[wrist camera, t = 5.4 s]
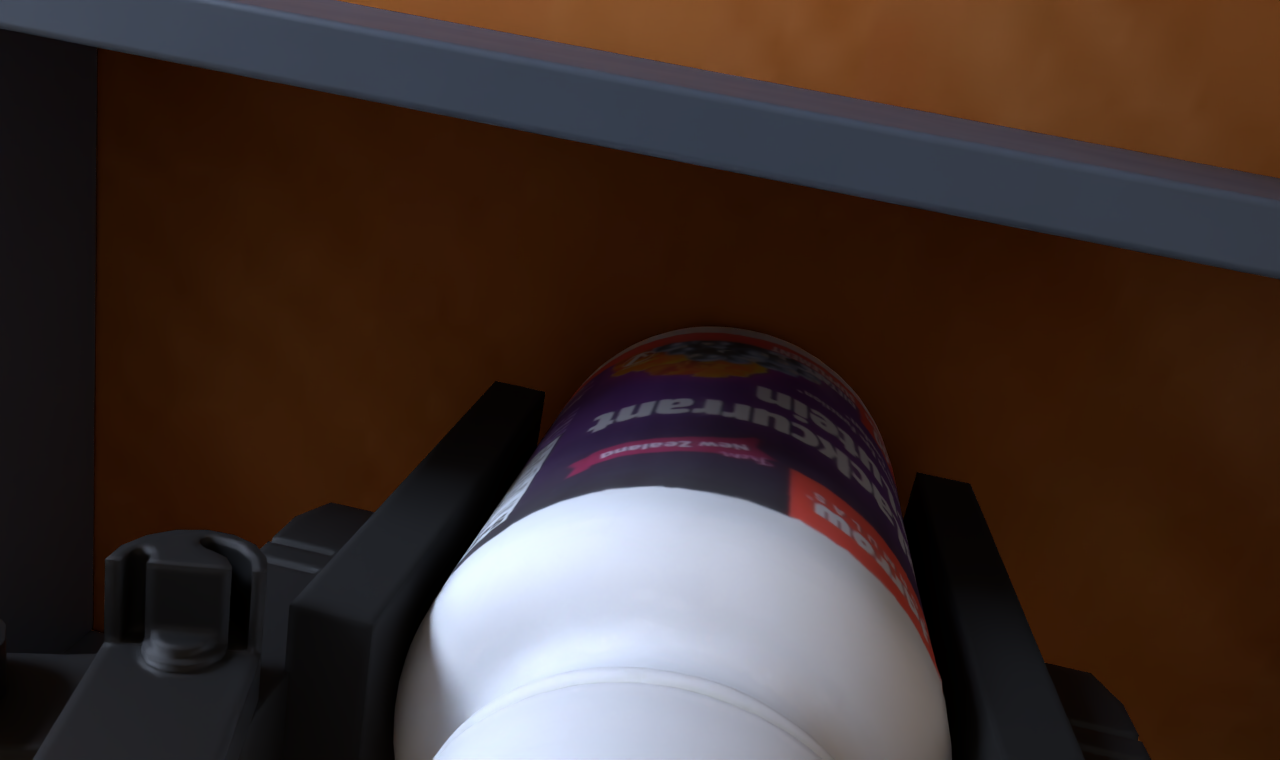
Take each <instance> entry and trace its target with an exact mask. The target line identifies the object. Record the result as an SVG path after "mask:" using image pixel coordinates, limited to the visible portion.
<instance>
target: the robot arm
mask: <svg viewBox="0 0 1280 760" xmlns="http://www.w3.org/2000/svg"><path fill="white" fill-rule="evenodd" d="M544 399H545V392H544V391H540V390H535V389H531V388H526V387H521V386H517V385H512V384H507V383H503V382H498V381H495V382H494V383H493V384H492V385H491V386H490V388H489V389H488V390H487V391H486V392H485V393H484V394H483V395H482V396H481V397H480V398H479V399H478V401H477V402H476V403H475V404H474V405H473V406H472V407H471V408H470V409H469V410H468V411H467V413H466V414H465V415H464V416H463V417H462V418H461V419H460V420H459V421H458V422H457V423H456V424H455V426H454V427H453V428H452V429H451V430H450V431H449V432H448V433H447V434H446V435H445V436H444V437H443V439H442V440H441V441H440V442H439V443H438V444H437V445H436V446H435V447H434V448H433V449H432V451H431V452H430V453H429V454H428V455H427V456H426V457H425V458H424V459H423V460H422V461H421V462H420V464H419V465H418V466H417V467H416V468H415V469H414V470H413V471H412V472H411V473H410V474H409V476H408V477H407V478H406V479H405V480H404V481H403V482H402V483H401V484H400V485H399V486H398V487H397V489H396V490H395V491H394V492H393V493H392V494H391V495H390V496H389V497H388V498H387V499H386V501H385V502H384V503H383V504H382V505H381V506H380V507H379V508H378V509H377V510H376V511H375V512H371V511H366V510H362V509H358V508H353V507H349V506H345V505H340V504H336V503H332V502H331V503H328V504H326V505H323V506H321V507H318V508H316V509H313V510H311V511H308V512H306V513H303V514H300V515H298V516H295V517H294V518H293V519H292V520H291V521H290V522H289V523H288V524H287V525H286V526H285V527H283V528H282V529H281V530H280V531H279V532H278V533H277V534H276V535H275V536H274V537H273V539H272V542H269V541H268V542H267V543H266V544H265V545H264V546H263V547H262V548H261V549H259V548H258V547H257V546H256V545H255V544H253V543H251V542H249V541H247V540H244V539H242V538H240V537H238V536H236V535H232V534H227V533H222V532H216V531H211V530H172V531H167V532H161V533H155V534H150V535H145V536H143V537H141V538H138V539H136V540H133V541H131V542H128V543H126V544H123V545H121V546H120V547H119V548H118V549H116V550H115V551H114V552H113V553H112V554H111V555H110V556H108V557H107V558H106V559H105V601H104V643H103V645H102V646H101V648H100V650H99V651H98V653H97V654H74V655H69V654H31V653H6V624H5V623H4V622H3V620H2V619H1V618H0V760H395V756H394V745H393V736H394V712H395V703H396V697H397V691H398V685H399V680H400V676H401V673H402V669H403V666H404V662H405V659H406V656H407V653H408V650H409V647H410V644H411V642H412V640H413V638H414V636H415V634H416V632H417V630H418V628H419V626H420V624H421V622H422V620H423V619H424V617H425V615H426V614H427V612H428V610H429V608H430V606H431V604H432V602H433V600H434V599H435V597H436V596H437V594H438V592H439V591H440V589H441V588H442V586H443V585H444V583H445V582H446V580H447V579H448V577H449V576H450V574H451V573H452V571H453V570H454V569H455V567H456V566H457V564H458V563H459V561H460V560H461V558H462V557H463V555H464V554H465V552H466V551H467V550H468V548H469V547H470V545H471V544H472V542H473V541H474V539H475V538H476V536H477V535H478V533H479V532H480V531H481V529H482V528H483V526H484V525H485V523H486V522H487V520H488V519H489V517H490V516H491V515H492V513H493V512H494V510H495V509H496V507H497V506H498V504H499V503H500V501H501V500H502V498H503V497H504V496H505V494H506V493H507V491H508V490H509V488H510V486H511V485H512V483H513V482H514V481H515V479H516V478H517V476H518V475H519V473H520V472H521V470H522V469H523V467H524V466H525V464H526V463H527V461H528V460H529V458H530V457H531V455H532V454H533V452H534V451H535V449H536V448H537V443H538V437H539V431H540V424H541V418H542V411H543V405H544ZM903 522H904V527H905V532H906V536H907V540H908V545H909V549H910V554H911V559H912V564H913V569H914V574H915V578H916V583H917V587H918V591H919V595H920V599H921V603H922V607H923V611H924V615H925V619H926V623H927V627H928V631H929V636H930V640H931V645H932V649H933V653H934V657H935V661H936V665H937V668H938V671H939V674H940V676H941V679H942V688H943V691H944V695H945V699H946V708H947V718H948V725H949V731H950V738H951V745H952V760H1151V758H1150V756H1149V754H1148V753H1147V751H1146V749H1145V747H1144V745H1143V743H1142V742H1141V741H1138V737H1139V735H1138V733H1137V731H1136V729H1135V727H1134V725H1133V723H1132V721H1131V719H1130V717H1129V715H1128V713H1127V711H1126V709H1125V707H1124V705H1123V704H1122V703H1121V702H1120V701H1119V700H1118V699H1117V698H1116V697H1115V696H1114V695H1113V694H1112V693H1111V692H1110V691H1109V690H1108V689H1107V688H1106V687H1105V686H1104V685H1103V684H1102V683H1101V682H1099V681H1098V680H1097V679H1096V678H1095V677H1094V676H1093V675H1092V674H1091V673H1088V672H1084V671H1079V670H1075V669H1071V668H1066V667H1062V666H1057V665H1053V664H1049V663H1044V660H1043V658H1042V655H1041V653H1040V650H1039V648H1038V646H1037V643H1036V641H1035V638H1034V636H1033V634H1032V631H1031V629H1030V626H1029V624H1028V622H1027V619H1026V617H1025V614H1024V612H1023V609H1022V607H1021V605H1020V602H1019V600H1018V597H1017V595H1016V593H1015V590H1014V588H1013V585H1012V583H1011V581H1010V578H1009V576H1008V573H1007V571H1006V568H1005V566H1004V564H1003V561H1002V559H1001V556H1000V554H999V552H998V549H997V547H996V544H995V542H994V540H993V537H992V535H991V532H990V530H989V527H988V525H987V523H986V520H985V518H984V515H983V513H982V511H981V508H980V506H979V503H978V501H977V499H976V496H975V494H974V491H973V489H972V486H971V484H969V483H965V482H960V481H956V480H951V479H946V478H942V477H937V476H933V475H928V474H923V473H919V472H917V474H916V477H915V481H914V484H913V488H912V491H911V495H910V498H909V502H908V505H907V509H906V512H905V516H904V519H903Z"/></svg>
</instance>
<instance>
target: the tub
mask: <svg viewBox="0 0 1280 760" xmlns="http://www.w3.org/2000/svg"><path fill="white" fill-rule="evenodd" d="M97 48H102V49H107V50H112V51H117V52H123V53H128V54H133V55H138V56H143V57H148V58H153V59H158V60H163V61H168V62H174V63H179V64H184V65H189V66H194V67H199V68H204V69H209V70H214V71H219V72H224V73H230V74H235V75H240V76H245V77H250V78H255V79H260V80H265V81H270V82H275V83H281V84H286V85H291V86H296V87H301V88H306V89H311V90H316V91H321V92H326V93H332V94H337V95H342V96H347V97H352V98H357V99H362V100H367V101H372V102H377V103H383V104H388V105H393V106H398V107H403V108H408V109H413V110H418V111H423V112H428V113H434V114H439V115H444V116H449V117H454V118H459V119H464V120H469V121H474V122H479V123H485V124H490V125H495V126H500V127H505V128H510V129H515V130H520V131H525V132H530V133H536V134H541V135H546V136H551V137H556V138H561V139H566V140H571V141H576V142H581V143H587V144H592V145H597V146H602V147H607V148H612V149H617V150H622V151H627V152H632V153H638V154H643V155H648V156H653V157H658V158H663V159H668V160H673V161H678V162H683V163H688V164H694V165H699V166H704V167H709V168H714V169H719V170H724V171H729V172H734V173H739V174H745V175H750V176H755V177H760V178H765V179H770V180H775V181H780V182H785V183H790V184H796V185H801V186H806V187H811V188H816V189H821V190H826V191H831V192H836V193H841V194H847V195H852V196H857V197H862V198H867V199H872V200H877V201H882V202H887V203H892V204H898V205H903V206H908V207H913V208H918V209H923V210H928V211H933V212H938V213H943V214H949V215H954V216H959V217H964V218H969V219H974V220H979V221H984V222H989V223H994V224H1000V225H1005V226H1010V227H1015V228H1020V229H1025V230H1030V231H1035V232H1040V233H1045V234H1051V235H1056V236H1061V237H1066V238H1071V239H1076V240H1081V241H1086V242H1091V243H1096V244H1102V245H1107V246H1112V247H1117V248H1122V249H1127V250H1132V251H1137V252H1142V253H1147V254H1152V255H1158V256H1163V257H1168V258H1173V259H1178V260H1183V261H1188V262H1193V263H1198V264H1203V265H1209V266H1214V267H1219V268H1224V269H1229V270H1234V271H1239V272H1244V273H1249V274H1254V275H1260V276H1265V277H1270V278H1275V279H1280V178H1275V177H1269V176H1264V175H1259V174H1253V173H1248V172H1243V171H1238V170H1232V169H1227V168H1222V167H1216V166H1211V165H1206V164H1200V163H1195V162H1190V161H1185V160H1179V159H1174V158H1169V157H1163V156H1158V155H1153V154H1147V153H1142V152H1137V151H1131V150H1126V149H1121V148H1116V147H1110V146H1105V145H1100V144H1094V143H1089V142H1084V141H1078V140H1073V139H1068V138H1063V137H1057V136H1052V135H1047V134H1041V133H1036V132H1031V131H1025V130H1020V129H1015V128H1010V127H1004V126H999V125H994V124H988V123H983V122H978V121H972V120H967V119H962V118H956V117H951V116H946V115H941V114H935V113H930V112H925V111H919V110H914V109H909V108H903V107H898V106H893V105H888V104H882V103H877V102H872V101H866V100H861V99H856V98H850V97H845V96H840V95H835V94H829V93H824V92H819V91H813V90H808V89H803V88H797V87H792V86H787V85H781V84H776V83H771V82H766V81H760V80H755V79H750V78H744V77H739V76H734V75H728V74H723V73H718V72H713V71H707V70H702V69H697V68H691V67H686V66H681V65H675V64H670V63H665V62H660V61H654V60H649V59H644V58H638V57H633V56H628V55H622V54H617V53H612V52H606V51H601V50H596V49H591V48H585V47H580V46H575V45H569V44H564V43H559V42H553V41H548V40H543V39H538V38H532V37H527V36H522V35H516V34H511V33H506V32H500V31H495V30H490V29H484V28H479V27H474V26H469V25H463V24H458V23H453V22H447V21H442V20H437V19H431V18H426V17H421V16H416V15H410V14H405V13H400V12H394V11H389V10H384V9H378V8H373V7H368V6H363V5H357V4H352V3H347V2H341V1H336V0H0V618H1V619H2V620H3V622H4V623H5V624H6V653H31V654H69V655H74V654H97V653H98V651H99V650H100V648H101V646H102V645H103V643H104V633H101V632H97V631H93V630H92V627H93V537H94V406H95V275H96V144H97Z"/></svg>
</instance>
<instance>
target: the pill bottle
mask: <svg viewBox="0 0 1280 760" xmlns="http://www.w3.org/2000/svg"><path fill="white" fill-rule="evenodd" d="M393 745H394V756H395V760H952V745H951V738H950V731H949V725H948V718H947V708H946V699H945V695H944V691H943V688H942V679H941V676H940V674H939V671H938V668H937V665H936V661H935V657H934V653H933V649H932V645H931V640H930V636H929V631H928V627H927V623H926V619H925V615H924V611H923V607H922V603H921V599H920V595H919V591H918V587H917V583H916V578H915V574H914V569H913V564H912V559H911V554H910V549H909V545H908V540H907V536H906V532H905V527H904V522H903V517H902V512H901V507H900V502H899V497H898V492H897V487H896V482H895V478H894V474H893V469H892V465H891V462H890V459H889V456H888V454H887V451H886V448H885V445H884V442H883V439H882V437H881V434H880V432H879V430H878V427H877V425H876V423H875V421H874V420H873V418H872V416H871V415H870V413H869V411H868V410H867V408H866V406H865V405H864V403H863V402H862V400H861V399H860V397H859V396H858V395H857V394H856V393H855V392H854V390H853V389H852V388H851V387H850V386H849V385H848V384H847V383H846V382H845V381H844V380H843V379H842V378H841V377H840V376H839V375H838V374H837V373H836V372H835V371H833V370H832V369H831V368H829V367H828V366H827V365H826V364H824V363H823V362H822V361H821V360H819V359H818V358H816V357H815V356H813V355H811V354H810V353H808V352H806V351H805V350H803V349H801V348H800V347H798V346H796V345H794V344H791V343H789V342H787V341H784V340H782V339H779V338H776V337H773V336H770V335H767V334H763V333H759V332H755V331H751V330H745V329H739V328H730V327H691V328H684V329H678V330H674V331H670V332H666V333H663V334H659V335H656V336H653V337H650V338H648V339H645V340H643V341H640V342H638V343H636V344H634V345H632V346H630V347H628V348H626V349H625V350H623V351H621V352H620V353H618V354H616V355H615V356H614V357H612V358H611V359H609V360H608V361H607V362H605V363H604V364H602V365H601V366H600V367H599V368H598V369H597V370H596V371H595V372H593V373H592V374H591V375H590V376H589V378H588V379H587V380H586V381H585V382H584V383H583V384H582V385H581V386H580V387H579V389H578V390H577V391H576V392H575V393H574V395H573V396H572V397H571V398H570V400H569V401H568V402H567V404H566V405H565V406H564V408H563V409H562V411H561V412H560V414H559V415H558V417H557V418H556V420H555V421H554V423H553V424H552V426H551V427H550V429H549V430H548V432H547V433H546V435H545V436H544V437H543V439H542V440H541V442H540V443H539V445H538V446H537V448H536V449H535V451H534V452H533V454H532V455H531V457H530V458H529V460H528V461H527V463H526V464H525V466H524V467H523V469H522V470H521V472H520V473H519V475H518V476H517V478H516V479H515V481H514V482H513V483H512V485H511V486H510V488H509V490H508V491H507V493H506V494H505V496H504V497H503V498H502V500H501V501H500V503H499V504H498V506H497V507H496V509H495V510H494V512H493V513H492V515H491V516H490V517H489V519H488V520H487V522H486V523H485V525H484V526H483V528H482V529H481V531H480V532H479V533H478V535H477V536H476V538H475V539H474V541H473V542H472V544H471V545H470V547H469V548H468V550H467V551H466V552H465V554H464V555H463V557H462V558H461V560H460V561H459V563H458V564H457V566H456V567H455V569H454V570H453V571H452V573H451V574H450V576H449V577H448V579H447V580H446V582H445V583H444V585H443V586H442V588H441V589H440V591H439V592H438V594H437V596H436V597H435V599H434V600H433V602H432V604H431V606H430V608H429V610H428V612H427V614H426V615H425V617H424V619H423V620H422V622H421V624H420V626H419V628H418V630H417V632H416V634H415V636H414V638H413V640H412V642H411V644H410V647H409V650H408V653H407V656H406V659H405V662H404V666H403V669H402V673H401V676H400V680H399V685H398V691H397V697H396V703H395V712H394V736H393Z"/></svg>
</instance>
